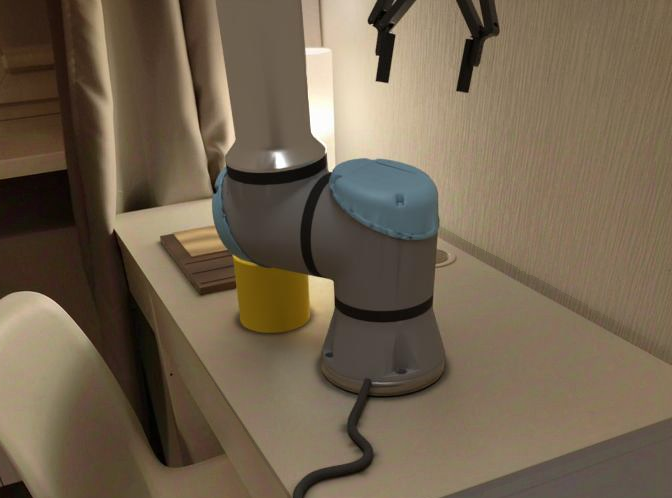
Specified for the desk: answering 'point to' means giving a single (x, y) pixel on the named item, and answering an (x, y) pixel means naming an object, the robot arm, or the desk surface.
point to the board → (202, 258)
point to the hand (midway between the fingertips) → (420, 87)
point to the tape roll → (271, 297)
